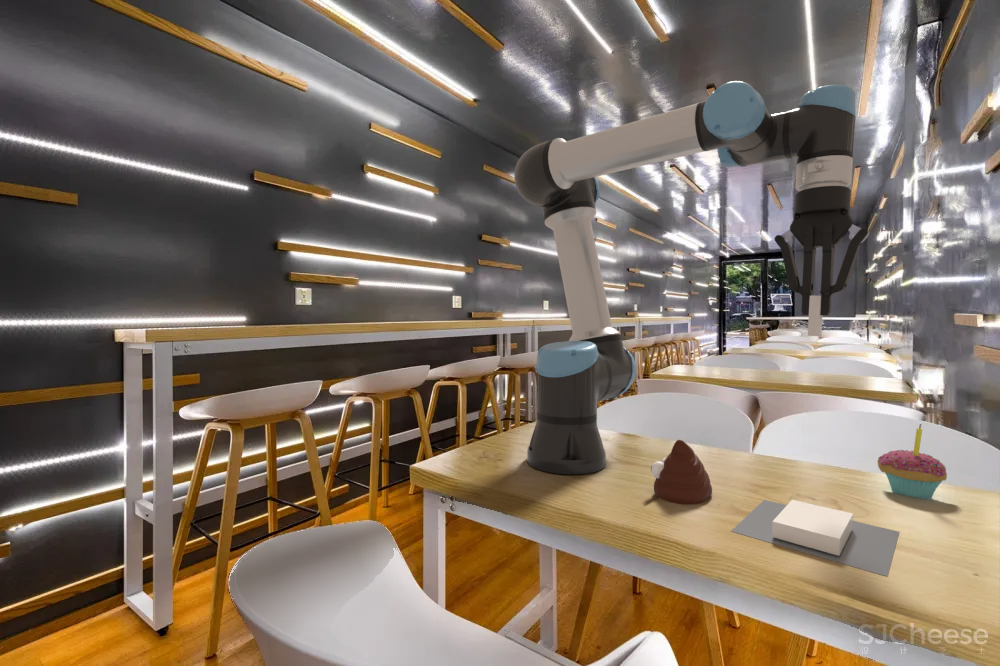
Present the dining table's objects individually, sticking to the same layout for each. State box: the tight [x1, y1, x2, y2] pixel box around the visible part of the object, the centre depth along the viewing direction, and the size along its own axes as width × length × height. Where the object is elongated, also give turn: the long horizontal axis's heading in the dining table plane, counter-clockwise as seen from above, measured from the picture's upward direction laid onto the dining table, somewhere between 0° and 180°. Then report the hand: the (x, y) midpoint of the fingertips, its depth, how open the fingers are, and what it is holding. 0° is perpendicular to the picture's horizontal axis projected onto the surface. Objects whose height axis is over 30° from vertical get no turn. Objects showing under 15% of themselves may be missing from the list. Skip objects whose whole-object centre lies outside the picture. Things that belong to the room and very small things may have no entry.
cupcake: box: [877, 423, 948, 501], centre depth 78 cm, size 9×8×12 cm
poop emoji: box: [650, 439, 713, 505], centre depth 77 cm, size 10×8×9 cm
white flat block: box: [772, 499, 854, 556], centre depth 62 cm, size 7×2×10 cm
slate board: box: [730, 499, 900, 578], centre depth 63 cm, size 16×15×1 cm
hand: (814, 335), depth 79 cm, fingers closed
